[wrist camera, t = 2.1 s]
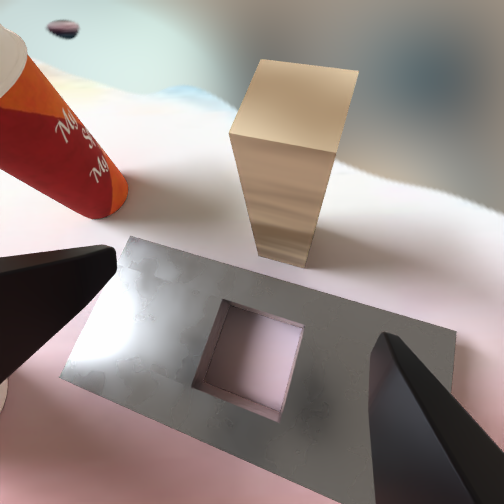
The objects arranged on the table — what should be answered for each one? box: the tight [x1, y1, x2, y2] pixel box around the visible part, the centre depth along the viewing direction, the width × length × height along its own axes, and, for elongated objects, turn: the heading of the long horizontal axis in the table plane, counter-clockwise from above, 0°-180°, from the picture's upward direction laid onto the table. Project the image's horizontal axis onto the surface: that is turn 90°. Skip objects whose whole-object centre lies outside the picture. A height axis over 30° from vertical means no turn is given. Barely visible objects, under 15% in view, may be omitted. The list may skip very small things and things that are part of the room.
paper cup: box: [0, 24, 128, 219], centre depth 21 cm, size 8×8×14 cm
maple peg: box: [229, 59, 359, 268], centre depth 17 cm, size 4×4×14 cm
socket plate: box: [59, 236, 456, 504], centre depth 19 cm, size 11×24×3 cm, turn 72°
